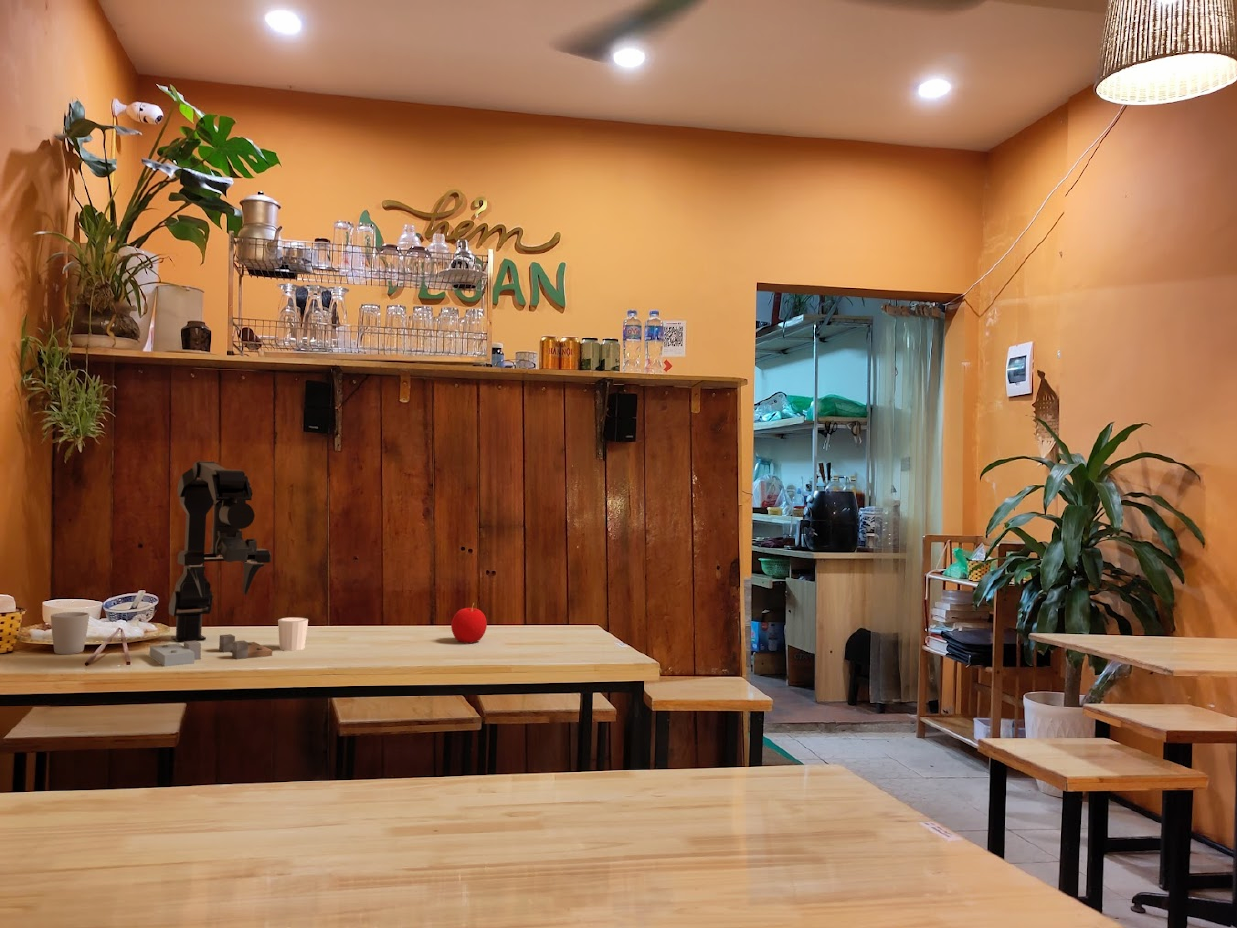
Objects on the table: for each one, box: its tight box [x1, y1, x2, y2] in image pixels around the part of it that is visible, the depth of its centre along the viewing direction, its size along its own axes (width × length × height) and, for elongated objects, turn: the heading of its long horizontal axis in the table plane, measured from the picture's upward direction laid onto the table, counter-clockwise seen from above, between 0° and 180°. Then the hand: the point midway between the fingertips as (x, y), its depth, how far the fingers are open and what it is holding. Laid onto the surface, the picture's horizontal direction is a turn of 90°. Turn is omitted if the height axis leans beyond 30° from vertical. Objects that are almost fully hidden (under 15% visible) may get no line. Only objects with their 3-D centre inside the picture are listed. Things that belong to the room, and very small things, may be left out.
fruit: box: [451, 602, 488, 644], centre depth 243 cm, size 9×9×10 cm
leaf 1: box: [149, 640, 202, 668], centre depth 209 cm, size 8×12×4 cm
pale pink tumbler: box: [277, 616, 309, 652], centre depth 226 cm, size 7×7×7 cm
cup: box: [50, 611, 90, 655], centre depth 214 cm, size 8×10×8 cm
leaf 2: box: [218, 633, 273, 660], centre depth 219 cm, size 8×12×4 cm, turn 40°
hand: (224, 595), depth 211 cm, fingers open, 9 cm apart
